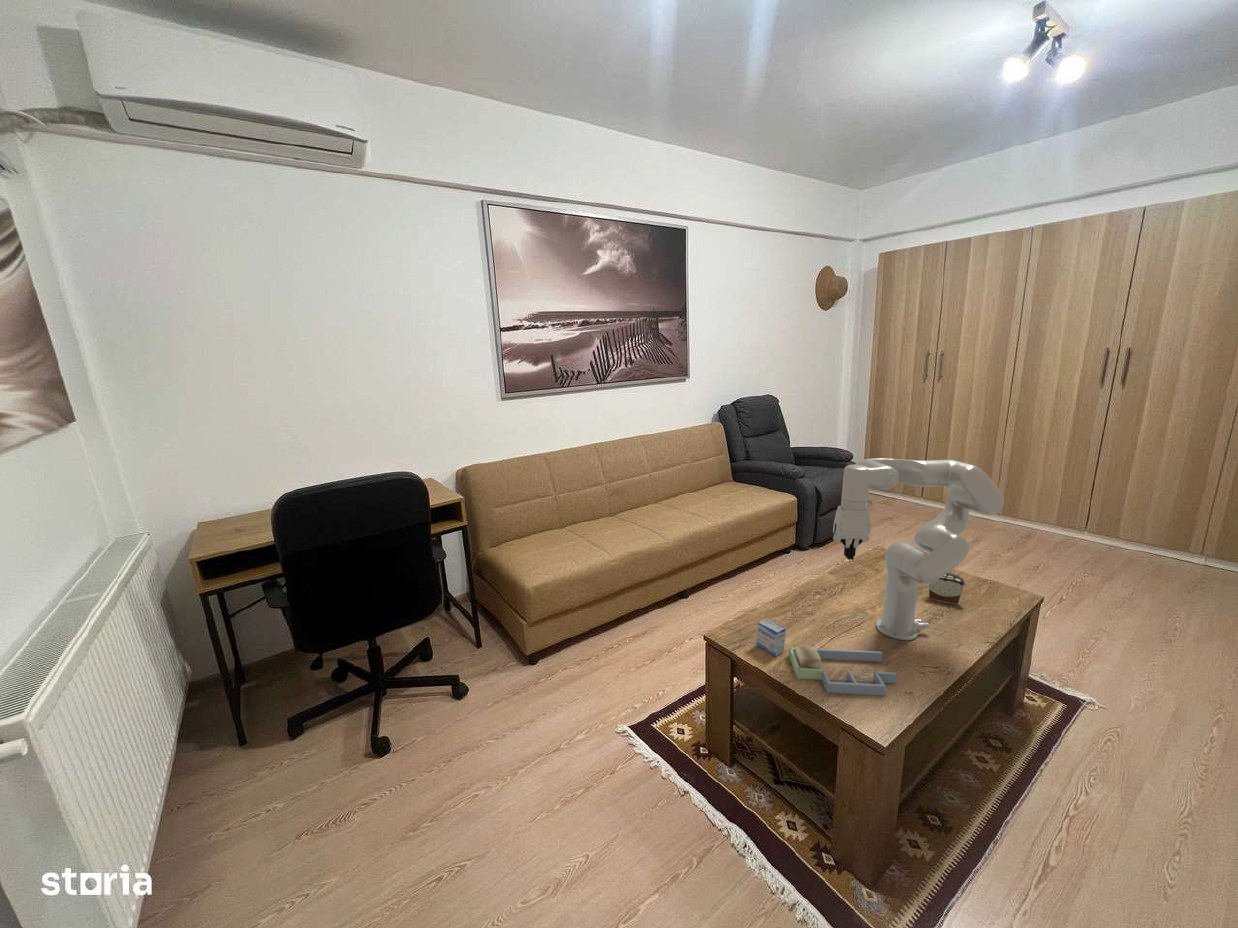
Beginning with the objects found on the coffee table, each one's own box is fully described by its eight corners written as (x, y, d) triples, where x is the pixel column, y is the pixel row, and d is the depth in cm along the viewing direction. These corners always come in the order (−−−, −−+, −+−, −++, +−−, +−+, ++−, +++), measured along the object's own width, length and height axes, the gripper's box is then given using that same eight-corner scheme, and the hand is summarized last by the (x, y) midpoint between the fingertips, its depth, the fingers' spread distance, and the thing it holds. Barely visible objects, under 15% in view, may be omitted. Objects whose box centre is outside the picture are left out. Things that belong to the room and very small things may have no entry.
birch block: (814, 661, 154) (815, 647, 153) (820, 674, 148) (821, 659, 147) (794, 660, 154) (795, 646, 153) (799, 673, 149) (800, 658, 148)
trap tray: (880, 659, 154) (881, 651, 153) (904, 696, 138) (905, 687, 137) (788, 655, 157) (789, 647, 156) (801, 691, 141) (802, 682, 140)
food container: (962, 598, 189) (965, 574, 186) (962, 605, 184) (966, 581, 181) (924, 591, 195) (927, 567, 193) (924, 597, 190) (927, 573, 188)
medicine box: (755, 645, 163) (756, 622, 161) (764, 640, 165) (765, 617, 163) (776, 657, 156) (777, 632, 154) (784, 651, 159) (786, 627, 157)
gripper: (874, 500, 157) (868, 553, 162) (825, 500, 159) (821, 552, 163) (884, 508, 150) (878, 563, 155) (833, 507, 152) (828, 562, 156)
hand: (849, 557), depth 159 cm, fingers closed
